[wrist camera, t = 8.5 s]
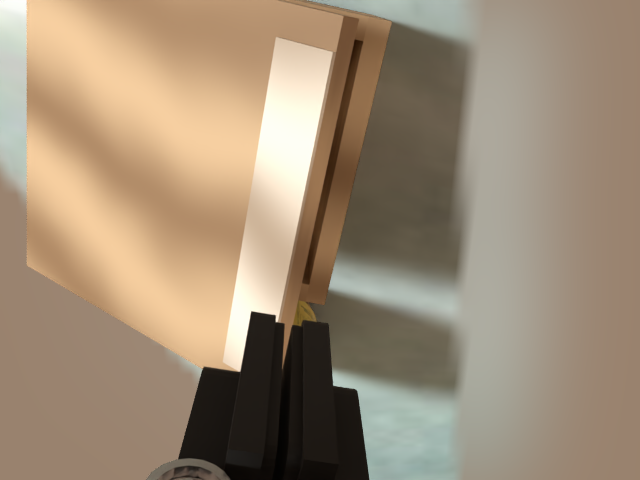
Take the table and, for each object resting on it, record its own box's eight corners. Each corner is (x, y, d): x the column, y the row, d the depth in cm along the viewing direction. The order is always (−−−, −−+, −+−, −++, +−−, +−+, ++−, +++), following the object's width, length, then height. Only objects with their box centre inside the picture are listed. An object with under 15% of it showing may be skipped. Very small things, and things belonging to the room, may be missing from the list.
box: (113, -43, 30) (51, -54, 22) (371, 14, 31) (391, 21, 24) (100, 203, 35) (46, 258, 28) (320, 242, 37) (324, 304, 29)
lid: (50, -54, 22) (21, -60, 21) (358, 18, 17) (340, 15, 16) (45, 259, 28) (22, 266, 27) (278, 392, 22) (260, 407, 21)
